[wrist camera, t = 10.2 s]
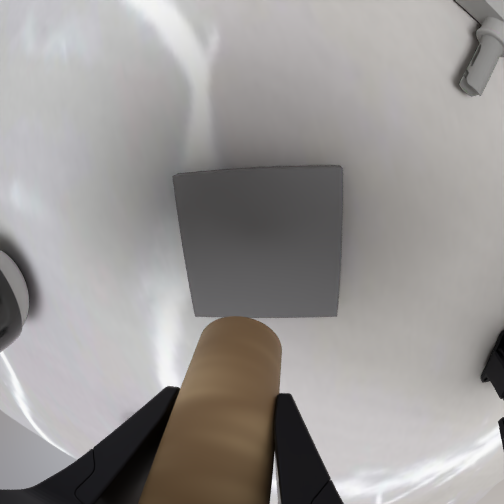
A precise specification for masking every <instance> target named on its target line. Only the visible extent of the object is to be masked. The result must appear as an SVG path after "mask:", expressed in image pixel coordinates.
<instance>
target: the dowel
mask: <svg viewBox="0 0 504 504" xmlns="http://www.w3.org/2000/svg"><path fill="white" fill-rule="evenodd" d="M281 355H282V348H281V343H280V341H279V338H278V337H277V335H276V334H275V333H274V332H273V331H272V330H271V329H270V328H269V327H268V326H266V325H265V324H263V323H261V322H259V321H257V320H254V319H251V318H247V317H240V316H230V317H224V318H220V319H218V320H215V321H213V322H212V323H210V324H209V325H208V326H207V327H206V328H205V329H204V330H203V332H202V334H201V337H200V339H199V342H198V344H197V347H196V349H195V352H194V355H193V357H192V360H191V362H190V365H189V368H188V370H187V373H186V375H185V378H184V381H183V383H182V386H181V388H180V391H179V394H178V396H177V399H176V402H175V404H174V407H173V410H172V412H171V415H170V418H169V420H168V423H167V426H166V428H165V431H164V434H163V436H162V439H161V442H160V444H159V447H158V450H157V453H156V455H155V458H154V461H153V464H152V466H151V469H150V472H149V474H148V477H147V480H146V483H145V486H144V488H143V491H142V494H141V497H140V499H139V502H138V504H269V503H270V494H271V484H272V474H273V463H274V452H275V442H274V419H275V409H276V399H277V394H279V387H280V371H281Z"/></svg>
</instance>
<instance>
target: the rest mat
mask: <svg viewBox="0 0 504 504" xmlns="http://www.w3.org/2000/svg"><path fill="white" fill-rule="evenodd" d="M173 183H174V191H175V198H176V206H177V213H178V220H179V226H180V233H181V239H182V246H183V252H184V258H185V264H186V270H187V275H188V281H189V287H190V292H191V297H192V303H193V308H194V313H195V317H230V316H240V317H247V318H292V317H334V316H337V310H338V298H339V283H340V267H341V246H342V210H343V168H342V167H341V166H283V167H259V168H241V169H226V170H212V171H200V172H189V173H179V174H176V175H174V176H173Z"/></svg>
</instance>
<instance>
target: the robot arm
mask: <svg viewBox="0 0 504 504" xmlns="http://www.w3.org/2000/svg"><path fill="white" fill-rule="evenodd" d="M481 381H482V382H488V381H491V383H492V384H493V386H494V388H495V390H496V392H497V394H498V396H499V397H500V399H503V400H504V331H503V332H502V333H501V334H500V336H499V338H498V341H497V343H496V346H495V348H494V350H493V353H492V355H491V357H490V359H489V361H488V364H487V366H486V368H485V370H484V372H483V374H482V376H481ZM179 391H180V388H179V387H173V386H167V387H165V388H164V389H163V390H162V391H161V392H160V393H158V394H157V395H156V396H155V397H154V398H153V399H151V400H150V401H149V402H148V403H147V404H146V405H144V406H143V407H142V408H141V409H140V410H139V411H137V412H136V413H135V414H134V415H133V416H131V417H130V418H129V419H128V420H127V421H125V422H124V423H123V424H122V425H121V426H119V427H118V428H117V429H116V430H114V431H113V432H112V433H111V434H110V435H108V436H107V437H106V438H105V439H103V440H102V441H101V442H100V443H99V444H97V445H96V446H95V447H94V448H93V449H91V450H90V451H88V452H87V453H86V454H85V455H83V456H82V457H81V458H79V459H78V460H77V461H75V462H74V463H72V464H71V465H69V466H68V467H66V468H65V469H63V470H61V471H60V472H58V473H56V474H55V475H53V476H51V477H50V478H48V479H46V480H44V481H43V482H41V483H39V484H37V485H35V486H33V487H30V488H27V489H21V490H0V504H138V502H139V499H140V497H141V494H142V491H143V488H144V486H145V483H146V480H147V477H148V474H149V472H150V469H151V466H152V464H153V461H154V458H155V455H156V453H157V450H158V447H159V444H160V442H161V439H162V436H163V434H164V431H165V428H166V426H167V423H168V420H169V418H170V415H171V412H172V410H173V407H174V404H175V402H176V399H177V396H178V394H179ZM498 424H499V430H500V434H501V439H502V444H503V450H504V417H502V418H501V419H500V420H499V421H498ZM274 442H275V467H276V480H277V493H278V504H344V503H343V501H342V499H341V498H340V496H339V494H338V492H337V490H336V488H335V486H334V484H333V482H332V480H330V479H331V478H330V476H329V474H328V472H327V470H326V468H325V466H324V463H323V461H322V459H321V457H320V455H319V453H318V451H317V449H316V447H315V444H314V442H313V440H312V438H311V436H310V434H309V432H308V429H307V427H306V425H305V423H304V421H303V419H302V417H301V414H300V412H299V410H298V408H297V406H296V403H295V401H294V399H293V397H292V395H291V394H289V393H279V394H277V399H276V409H275V419H274Z"/></svg>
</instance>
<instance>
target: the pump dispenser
mask: <svg viewBox="0 0 504 504" xmlns="http://www.w3.org/2000/svg"><path fill="white" fill-rule="evenodd" d="M28 309H29V295H28V289H27V286H26V282H25V280H24V277H23V275H22V273H21V271H20V270H19V268H18V266H17V265H16V264H15V262H14V261H13V260H12V259H11V258H10V257H9V256H8V255H7V254H5V253H4V252H3V251H1V250H0V352H2V351H3V350H4V349H6V348H7V347H8V346H10V345H11V344H12V343H13V342H14V341H15V340H16V339H17V338H18V337H19V336H20V334H21V331H22V327H23V325H24V323H25V320H26V318H27V314H28Z"/></svg>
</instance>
